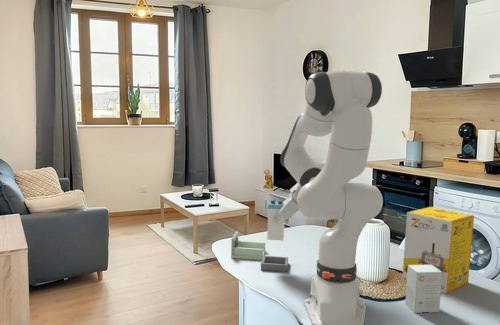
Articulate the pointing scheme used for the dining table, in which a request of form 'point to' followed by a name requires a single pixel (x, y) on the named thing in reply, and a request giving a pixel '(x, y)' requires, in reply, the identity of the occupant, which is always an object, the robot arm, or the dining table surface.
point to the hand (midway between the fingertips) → (274, 219)
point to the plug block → (276, 228)
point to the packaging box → (440, 244)
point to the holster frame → (269, 264)
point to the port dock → (247, 249)
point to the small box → (423, 288)
